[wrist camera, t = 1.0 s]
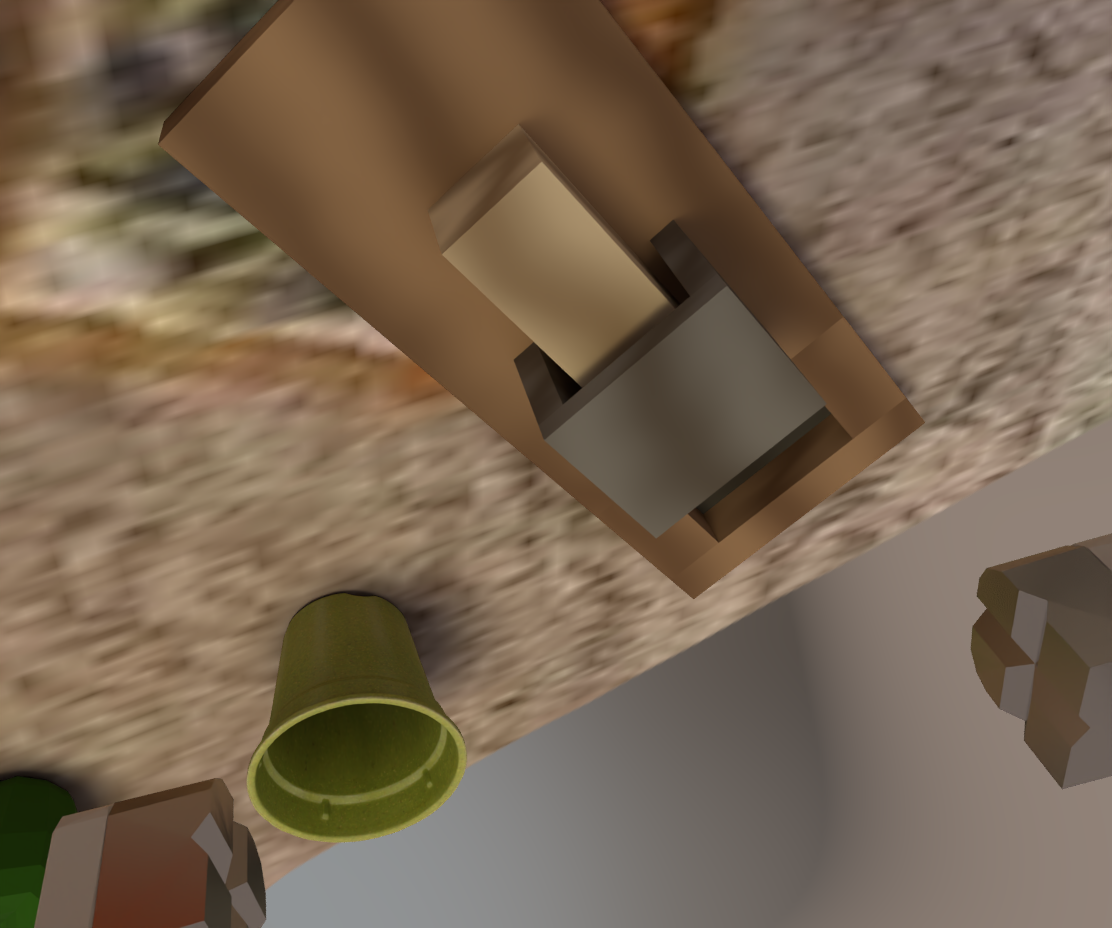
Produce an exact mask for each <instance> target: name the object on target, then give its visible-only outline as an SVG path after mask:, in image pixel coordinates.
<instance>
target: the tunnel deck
mask: <svg viewBox="0 0 1112 928" xmlns="http://www.w3.org/2000/svg"><path fill="white" fill-rule="evenodd" d="M518 124H519V125H520V126H521V127H522V128H523V129H524V131H525V132H526V133H527V134H528V135H529V136H530V137H531V138H532V139H533V141H534V142H535V143H536V144H537V145H538V146H539V147H540V148H541V149H542V151H543V152H544V153H545V154H546V155H547V156H548V157H549V158H550V159H551V161H552V162H553V163H554V164H555V165H556V166H557V167H558V168H559V169H560V171H561V172H562V173H563V174H564V175H565V176H566V177H567V178H568V179H569V181H570V182H571V183H572V184H573V185H574V186H575V187H576V188H577V189H578V191H579V192H580V193H581V194H582V195H583V196H584V197H585V198H586V200H587V201H588V202H589V203H590V204H591V205H592V206H593V207H594V208H595V210H596V211H597V212H598V213H599V214H600V215H601V216H602V217H603V218H604V220H605V221H606V222H607V223H608V224H609V225H610V226H611V227H612V228H613V230H614V231H615V232H616V233H617V234H618V235H619V236H620V237H621V238H622V240H623V241H624V242H625V243H626V244H627V245H628V246H629V247H630V248H631V250H632V251H633V252H634V253H635V254H636V255H637V256H638V257H639V258H640V260H641V261H642V262H643V263H644V264H645V265H646V266H647V267H648V268H649V270H650V271H651V272H652V273H653V274H654V275H655V276H656V277H657V278H658V280H659V281H660V282H661V283H662V284H663V285H664V286H665V287H666V288H667V290H668V291H669V292H670V293H671V294H672V295H673V296H674V297H675V299H676V300H677V301H678V302H679V303H680V304H681V305H679V306H678V307H677V308H676V309H675V310H674V311H672V312H671V313H670V314H669V315H668V316H667V317H665V318H664V319H663V320H662V321H661V322H659V323H658V324H657V325H656V326H655V327H654V328H652V329H651V330H650V331H649V332H648V333H647V334H645V335H644V336H643V337H642V338H641V339H640V340H638V341H637V342H636V343H635V344H634V345H632V346H631V347H630V348H629V349H628V350H627V351H625V352H624V353H623V354H622V355H621V356H620V357H618V358H617V359H616V360H615V361H614V362H612V363H611V364H610V365H609V366H608V367H607V368H605V369H604V370H603V371H602V372H601V373H600V374H598V375H597V376H596V377H595V378H594V379H593V380H591V381H590V382H589V383H588V384H587V385H585V386H584V387H583V388H582V387H581V386H580V385H579V384H578V383H577V382H576V381H575V380H574V379H573V378H572V377H570V376H569V375H568V374H567V373H566V372H565V371H564V370H563V369H562V368H561V367H560V366H559V365H558V364H557V363H556V362H555V361H554V360H553V359H551V358H550V357H549V356H548V355H547V354H546V353H545V352H544V351H543V350H542V349H541V348H540V347H539V346H538V345H537V344H536V343H535V342H534V341H533V340H531V339H530V338H529V337H528V336H527V335H526V334H525V333H524V332H523V331H522V330H521V329H520V328H519V327H518V326H517V325H516V324H515V323H514V322H512V321H511V320H510V319H509V318H508V317H507V316H506V315H505V314H504V313H503V312H502V311H501V310H500V309H499V308H498V307H497V306H496V305H495V304H493V303H492V302H491V301H490V300H489V299H488V298H487V297H486V296H485V295H484V294H483V293H482V292H481V291H480V290H479V289H478V288H477V287H476V286H475V285H473V284H472V283H471V282H470V281H469V280H468V279H467V278H466V277H465V276H464V275H463V274H462V273H461V272H460V271H459V270H458V269H457V268H456V267H454V266H453V265H452V264H451V263H450V262H449V261H448V260H447V259H446V258H445V257H444V256H443V255H442V253H441V250H440V247H439V244H438V241H437V238H436V235H435V232H434V229H433V225H432V222H431V219H430V216H429V213H428V209H429V208H431V207H432V206H433V205H434V204H435V203H436V202H437V201H438V200H439V199H440V198H441V197H442V196H443V195H444V194H445V193H446V192H447V191H448V190H450V189H451V188H452V187H453V186H454V185H455V184H456V183H457V182H458V181H459V180H460V179H461V178H462V177H463V176H464V175H465V174H466V173H467V172H469V171H470V170H471V169H472V168H473V167H474V166H475V165H476V164H477V163H478V162H479V161H480V160H481V159H482V158H483V157H484V156H485V155H486V154H488V153H489V152H490V151H491V150H492V149H493V148H494V147H495V146H496V145H497V144H498V143H499V142H500V141H501V140H502V139H503V138H504V137H505V136H507V135H508V134H509V133H510V132H511V131H512V130H513V129H514V128H515V127H516V126H517V125H518ZM158 145H159V146H160V147H162V148H163V149H164V150H165V151H166V152H167V153H169V154H170V155H171V156H172V157H173V158H175V159H176V160H177V161H178V162H179V163H180V164H182V165H183V166H184V167H185V168H186V169H188V170H189V171H190V172H191V173H192V174H193V175H195V176H196V177H197V178H198V179H199V180H200V181H202V182H203V183H204V184H205V185H206V186H208V187H209V188H210V189H211V190H212V191H213V192H215V193H216V194H217V195H218V196H219V197H220V198H222V199H223V200H224V201H225V202H226V203H228V204H229V205H230V206H231V207H232V208H233V209H235V210H236V211H237V212H238V213H239V214H241V215H242V216H243V217H244V218H245V219H246V220H248V221H249V222H250V223H251V224H252V225H253V226H255V227H256V228H257V229H258V230H259V231H261V232H262V233H263V234H264V235H265V236H266V237H268V238H269V239H270V240H271V241H272V242H273V243H275V244H276V245H277V246H278V247H279V248H281V249H282V250H283V251H284V252H285V253H286V254H288V255H289V256H290V257H291V258H292V259H294V260H295V261H296V262H297V263H298V264H299V265H301V266H302V267H303V268H304V269H305V270H306V271H308V272H309V273H310V274H311V275H312V276H314V277H315V278H316V279H317V280H318V281H319V282H321V283H322V284H323V285H324V286H325V287H326V288H328V289H329V290H330V291H331V292H332V293H334V294H335V295H336V296H337V297H338V298H339V299H341V300H342V301H343V302H344V303H345V304H347V305H348V306H349V307H350V308H351V309H352V310H354V311H355V312H356V313H357V314H358V315H359V316H361V317H362V318H363V319H364V320H365V321H367V322H368V323H369V324H370V325H371V326H372V327H374V328H375V329H376V330H377V331H378V332H380V333H381V334H382V335H383V336H384V337H385V338H387V339H388V340H389V341H390V342H391V343H392V344H394V345H395V346H396V347H397V348H398V349H400V350H401V351H402V352H403V353H404V354H405V355H407V356H408V357H409V358H410V359H411V360H412V361H414V362H415V363H416V364H417V365H418V366H420V367H421V368H422V369H423V370H424V371H425V372H427V373H428V374H429V375H430V376H431V377H433V378H434V379H435V380H436V381H437V382H438V383H440V384H441V385H442V386H443V387H444V388H445V389H447V390H448V391H449V392H450V393H451V394H453V395H454V396H455V397H456V398H457V399H458V400H460V401H461V402H462V403H463V404H464V405H465V406H467V407H468V408H469V409H470V410H471V411H473V412H474V413H475V414H476V415H477V416H478V417H480V418H481V419H482V420H483V421H484V422H486V423H487V424H488V425H489V426H490V427H491V428H493V429H494V430H495V431H496V432H497V433H498V434H500V435H501V436H502V437H503V438H504V439H506V440H507V441H508V442H509V443H510V444H511V445H513V446H514V447H515V448H516V449H517V450H518V451H520V452H521V453H522V454H523V455H524V456H526V457H527V458H528V459H529V460H530V461H531V462H533V463H534V464H535V465H536V466H537V467H539V468H540V469H541V470H542V471H543V472H544V473H546V474H547V475H548V476H549V477H550V478H551V479H553V480H554V481H555V482H556V483H557V484H559V485H560V486H561V487H562V488H563V489H564V490H566V491H567V492H568V493H569V494H570V495H571V496H573V497H574V498H575V499H576V500H577V501H579V502H580V503H581V504H582V505H583V506H584V507H586V508H587V509H588V510H589V511H590V512H592V513H593V514H594V515H595V516H596V517H597V518H599V519H600V520H601V521H602V522H603V523H604V524H606V525H607V526H608V527H609V528H610V529H612V530H613V531H614V532H615V533H616V534H617V535H619V536H620V537H621V538H622V539H623V540H624V541H626V542H627V543H628V544H629V545H630V546H632V547H633V548H634V549H635V550H636V551H637V552H639V553H640V554H641V555H642V556H643V557H645V558H646V559H647V560H648V561H649V562H650V563H652V564H653V565H654V566H655V567H656V568H657V569H659V570H660V571H661V572H662V573H663V574H665V575H666V576H667V577H668V578H669V579H670V580H672V581H673V582H674V583H675V584H676V585H677V586H679V587H680V588H681V589H682V590H683V591H685V592H686V593H687V594H688V595H689V596H690V597H692V598H693V599H695V598H696V597H697V596H699V595H700V594H701V593H703V592H704V591H705V590H707V589H708V588H709V587H710V586H712V585H713V584H714V583H716V582H717V581H718V580H720V579H721V578H722V577H724V576H725V575H726V574H727V573H729V572H730V571H731V570H733V569H734V568H735V567H737V566H738V565H739V564H741V563H742V562H743V561H745V560H746V559H747V558H748V557H750V556H751V555H752V554H754V553H755V552H756V551H758V550H759V549H760V548H762V547H763V546H764V545H765V544H767V543H768V542H769V541H771V540H772V539H773V538H775V537H776V536H777V535H779V534H780V533H781V532H783V531H784V530H785V529H786V528H788V527H789V526H790V525H792V524H793V523H794V522H796V521H797V520H798V519H800V518H801V517H802V516H803V515H805V514H806V513H807V512H809V511H810V510H811V509H813V508H814V507H815V506H817V505H818V504H819V503H821V502H822V501H823V500H824V499H826V498H827V497H828V496H830V495H831V494H832V493H834V492H835V491H836V490H838V489H839V488H840V487H842V486H843V485H844V484H845V483H847V482H848V481H849V480H851V479H852V478H853V477H855V476H856V475H857V474H859V473H860V472H861V471H862V470H864V469H865V468H866V467H868V466H869V465H870V464H872V463H873V462H874V461H876V460H877V459H878V458H880V457H881V456H882V455H883V454H885V453H886V452H887V451H889V450H890V449H891V448H893V447H894V446H895V445H897V444H898V443H899V442H900V441H902V440H903V439H904V438H906V437H907V436H908V435H910V434H911V433H912V432H914V431H915V430H916V429H918V428H919V427H920V426H921V425H923V424H924V423H925V422H924V420H923V419H922V418H921V416H920V415H919V414H918V413H917V411H916V410H915V409H914V407H913V406H912V405H911V404H910V402H909V401H908V400H907V398H906V397H905V396H904V394H903V393H902V392H901V391H900V389H899V388H898V387H897V385H896V384H895V383H894V381H893V380H892V379H891V378H890V376H889V375H888V374H887V372H886V371H885V370H884V369H883V367H882V366H881V365H880V363H879V362H878V361H877V359H876V358H875V357H874V356H873V354H872V353H871V352H870V350H869V349H868V348H867V346H866V345H865V344H864V343H863V341H862V340H861V339H860V337H859V336H858V335H857V334H856V332H855V331H854V330H853V328H852V327H851V326H850V324H849V323H848V322H847V321H846V319H845V318H844V317H843V315H842V314H841V313H840V311H839V310H838V309H837V308H836V306H835V305H834V304H833V302H832V301H831V300H830V299H829V297H828V296H827V295H826V293H825V292H824V291H823V289H822V288H821V287H820V286H819V284H818V283H817V282H816V280H815V279H814V278H813V276H812V275H811V274H810V273H809V271H808V270H807V269H806V267H805V266H804V265H803V264H802V262H801V261H800V260H799V258H798V257H797V256H796V254H795V253H794V252H793V251H792V249H791V248H790V247H789V245H788V244H787V243H786V241H785V240H784V239H783V238H782V236H781V235H780V234H779V232H778V231H777V230H776V228H775V227H774V226H773V225H772V223H771V222H770V221H769V219H768V218H767V217H766V216H765V214H764V213H763V212H762V210H761V209H760V208H759V206H758V205H757V204H756V203H755V201H754V200H753V199H752V197H751V196H750V195H749V193H748V192H747V191H746V190H745V188H744V187H743V186H742V184H741V183H740V182H739V181H738V179H737V178H736V177H735V175H734V174H733V173H732V171H731V170H730V169H729V168H728V166H727V165H726V164H725V162H724V161H723V160H722V158H721V157H720V156H719V155H718V153H717V152H716V151H715V149H714V148H713V147H712V146H711V144H710V143H709V142H708V140H707V139H706V138H705V136H704V135H703V134H702V133H701V131H700V130H699V129H698V127H697V126H696V125H695V123H694V122H693V121H692V120H691V118H690V117H689V116H688V114H687V113H686V112H685V111H684V109H683V108H682V107H681V105H680V104H679V103H678V101H677V100H676V99H675V98H674V96H673V95H672V94H671V92H670V91H669V90H668V88H667V87H666V86H665V85H664V83H663V82H662V81H661V79H660V78H659V77H658V76H657V74H656V73H655V72H654V70H653V69H652V68H651V66H650V65H649V64H648V63H647V61H646V60H645V59H644V57H643V56H642V55H641V53H640V52H639V51H638V50H637V48H636V47H635V46H634V44H633V43H632V42H631V41H630V39H629V38H628V37H627V35H626V34H625V33H624V31H623V30H622V29H621V28H620V26H619V25H618V24H617V22H616V21H615V20H614V18H613V17H612V16H611V15H610V13H609V12H608V11H607V9H606V8H605V7H604V5H603V4H602V3H601V2H600V0H278V1H277V2H276V3H275V4H274V6H273V7H272V8H271V9H270V10H269V11H268V12H267V13H266V14H265V15H264V16H263V17H262V18H261V19H260V20H259V21H258V23H257V24H256V25H255V26H254V27H253V28H252V29H251V30H250V31H249V32H248V33H247V34H246V35H245V36H244V37H243V38H242V40H241V41H240V42H239V43H238V44H237V45H236V46H235V47H234V48H233V49H232V50H231V51H230V52H229V53H228V54H227V55H226V56H225V58H224V59H223V60H222V61H221V62H220V63H219V64H218V65H217V66H216V67H215V68H214V69H213V70H212V71H211V72H210V73H209V75H208V76H207V77H206V78H205V79H204V80H203V81H202V82H201V83H200V84H199V85H198V86H197V87H196V88H195V89H194V90H193V92H192V93H191V94H190V95H189V96H188V97H187V98H186V99H185V100H184V101H183V102H182V103H181V104H180V105H179V106H178V107H177V109H176V110H175V111H174V112H173V113H172V114H171V115H170V116H169V117H168V118H167V119H166V120H165V121H164V124H163V128H162V131H161V135H160V139H159V143H158Z"/></svg>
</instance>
